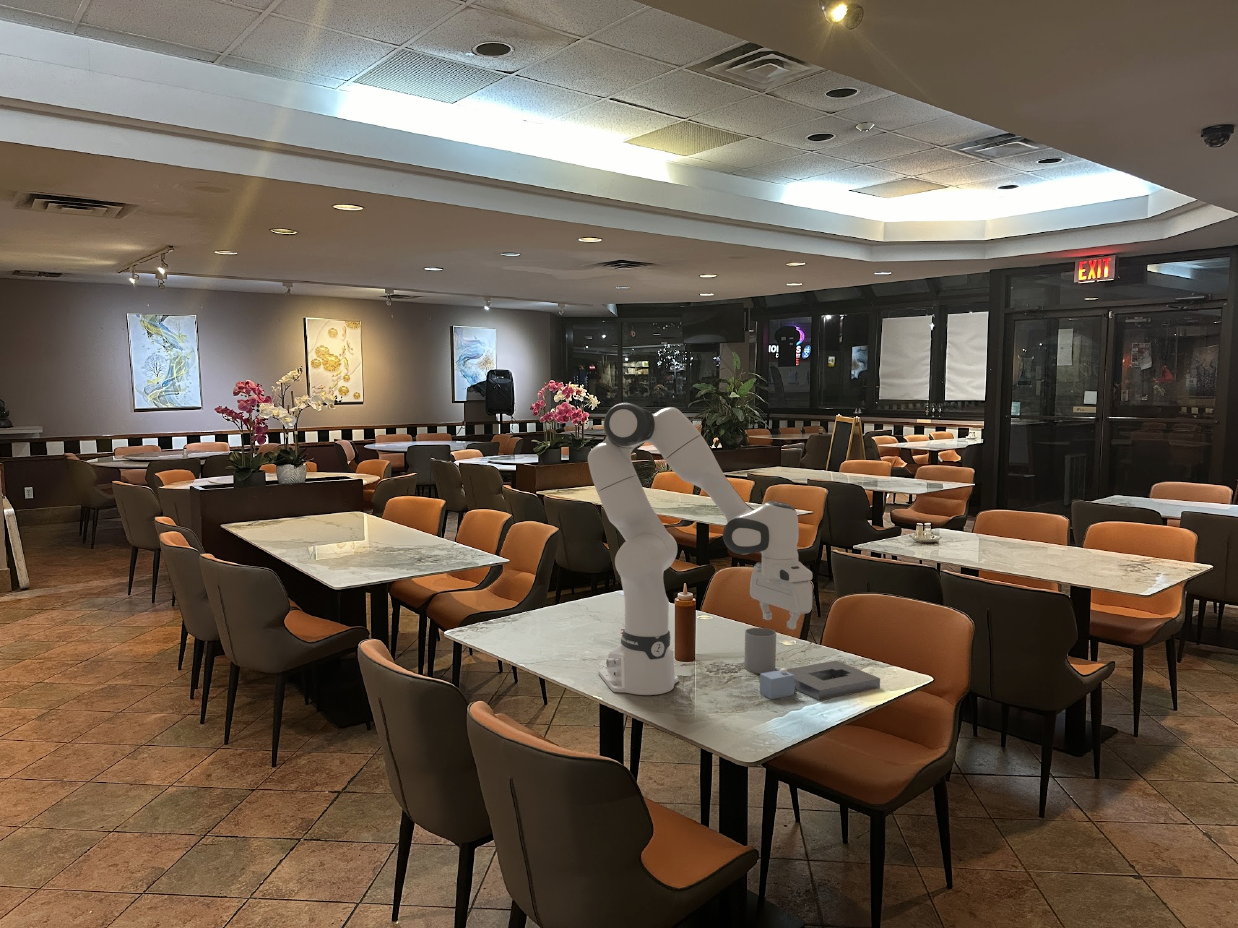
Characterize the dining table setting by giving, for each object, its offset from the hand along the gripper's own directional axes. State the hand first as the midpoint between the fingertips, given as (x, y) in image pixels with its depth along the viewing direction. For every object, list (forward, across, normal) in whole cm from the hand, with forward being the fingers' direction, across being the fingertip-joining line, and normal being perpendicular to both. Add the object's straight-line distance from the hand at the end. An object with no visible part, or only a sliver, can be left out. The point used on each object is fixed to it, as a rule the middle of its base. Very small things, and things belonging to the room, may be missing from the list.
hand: (779, 623), depth 199 cm
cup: (+18, -19, +8) cm, 27 cm away
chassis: (+18, -1, +16) cm, 24 cm away
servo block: (+18, -1, 0) cm, 18 cm away
